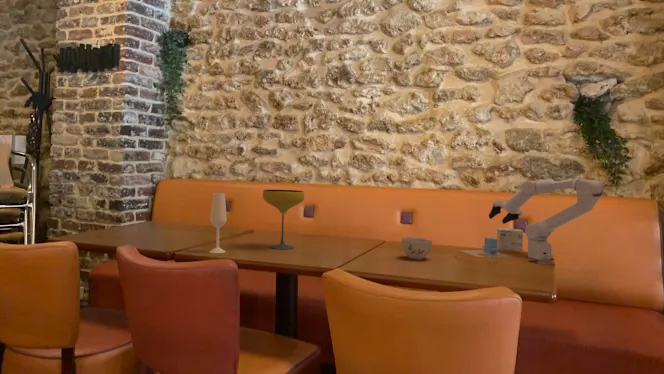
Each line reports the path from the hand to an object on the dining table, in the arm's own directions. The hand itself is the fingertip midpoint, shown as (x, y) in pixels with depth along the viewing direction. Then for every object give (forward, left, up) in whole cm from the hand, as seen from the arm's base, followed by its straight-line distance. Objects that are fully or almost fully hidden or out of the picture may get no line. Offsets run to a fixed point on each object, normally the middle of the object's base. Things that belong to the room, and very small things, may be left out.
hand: (496, 219), depth 241 cm
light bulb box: (+2, -8, -15) cm, 18 cm away
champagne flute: (+6, +122, -15) cm, 123 cm away
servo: (-6, +6, -14) cm, 16 cm away
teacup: (-11, +42, -15) cm, 46 cm away
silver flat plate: (-9, +10, -15) cm, 20 cm away
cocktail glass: (+17, +94, -15) cm, 96 cm away
